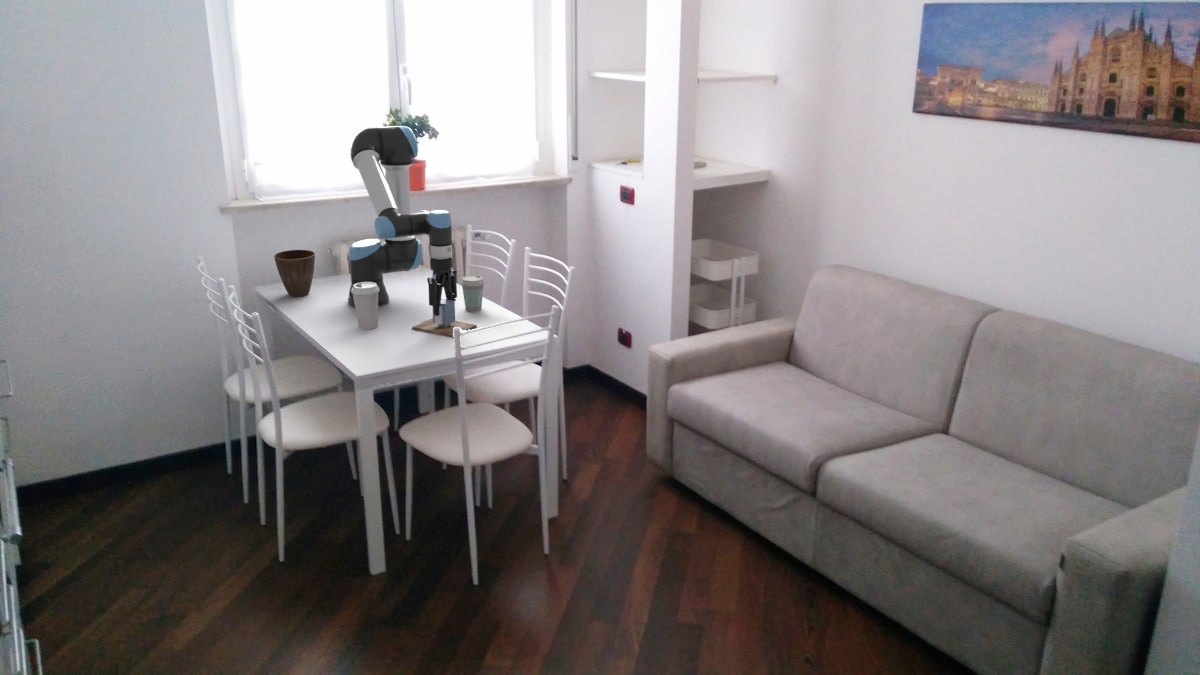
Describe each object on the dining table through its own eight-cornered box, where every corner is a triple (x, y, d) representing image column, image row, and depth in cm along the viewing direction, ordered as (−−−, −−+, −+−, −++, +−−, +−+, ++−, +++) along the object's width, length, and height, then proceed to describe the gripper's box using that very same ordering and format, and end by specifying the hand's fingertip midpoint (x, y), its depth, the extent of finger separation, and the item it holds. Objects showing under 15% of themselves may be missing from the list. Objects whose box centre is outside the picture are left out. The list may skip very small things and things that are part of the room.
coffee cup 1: (358, 321, 325) (355, 280, 320) (385, 322, 325) (382, 281, 320) (350, 330, 316) (347, 288, 311) (378, 331, 316) (375, 289, 311)
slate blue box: (433, 323, 318) (432, 302, 315) (442, 318, 322) (441, 298, 320) (445, 325, 316) (444, 304, 313) (455, 321, 320) (454, 300, 318)
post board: (412, 329, 318) (411, 308, 316) (435, 318, 329) (434, 299, 327) (454, 337, 310) (453, 317, 308) (476, 327, 321) (475, 307, 319)
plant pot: (302, 302, 346) (298, 260, 341) (269, 297, 351) (265, 256, 346) (326, 291, 359) (323, 251, 354) (294, 287, 364) (291, 248, 359)
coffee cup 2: (480, 313, 336) (479, 282, 332) (458, 311, 338) (457, 280, 334) (488, 306, 344) (487, 275, 340) (466, 305, 345) (465, 274, 342)
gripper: (433, 263, 302) (436, 330, 310) (466, 252, 317) (468, 316, 325) (415, 260, 305) (418, 327, 313) (448, 249, 321) (451, 312, 328)
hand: (444, 321), depth 319 cm, fingers closed on slate blue box, 5 cm apart
